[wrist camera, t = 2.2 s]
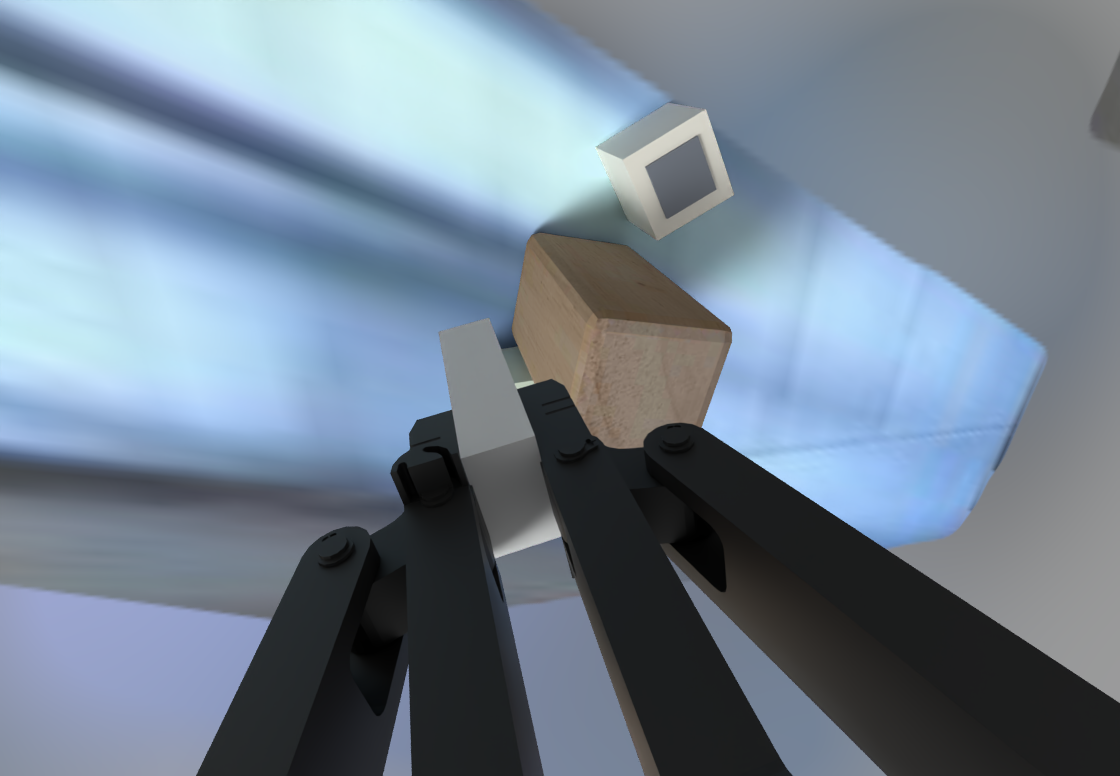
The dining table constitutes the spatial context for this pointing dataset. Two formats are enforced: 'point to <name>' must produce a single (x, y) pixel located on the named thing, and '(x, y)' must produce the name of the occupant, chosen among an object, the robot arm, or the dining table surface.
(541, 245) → the wooden block
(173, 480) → the dining table surface
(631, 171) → the cream labelled cube
